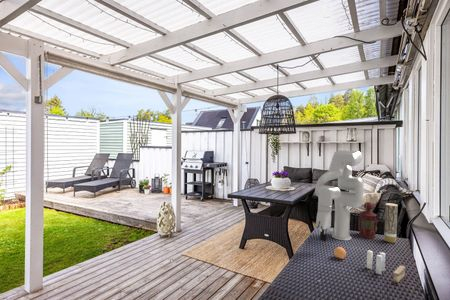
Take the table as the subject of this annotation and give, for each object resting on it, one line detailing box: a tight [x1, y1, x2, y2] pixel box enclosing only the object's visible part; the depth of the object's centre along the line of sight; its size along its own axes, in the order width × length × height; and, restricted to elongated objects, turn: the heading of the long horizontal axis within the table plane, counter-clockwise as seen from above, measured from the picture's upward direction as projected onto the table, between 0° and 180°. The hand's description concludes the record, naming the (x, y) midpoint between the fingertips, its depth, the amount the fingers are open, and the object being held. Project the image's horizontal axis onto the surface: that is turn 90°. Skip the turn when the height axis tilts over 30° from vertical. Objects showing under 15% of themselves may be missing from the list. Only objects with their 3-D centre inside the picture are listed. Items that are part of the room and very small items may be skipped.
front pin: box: [366, 249, 374, 270], centre depth 132 cm, size 2×2×8 cm
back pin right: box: [375, 254, 383, 275], centre depth 126 cm, size 2×2×8 cm
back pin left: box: [379, 251, 386, 272], centre depth 130 cm, size 2×2×8 cm
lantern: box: [357, 193, 378, 240], centre depth 183 cm, size 12×12×30 cm
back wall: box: [392, 264, 406, 284], centre depth 122 cm, size 2×12×4 cm, turn 133°
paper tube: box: [383, 202, 399, 244], centre depth 174 cm, size 7×7×25 cm
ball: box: [333, 246, 347, 259], centre depth 143 cm, size 6×6×6 cm
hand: (323, 240), depth 149 cm, fingers closed
